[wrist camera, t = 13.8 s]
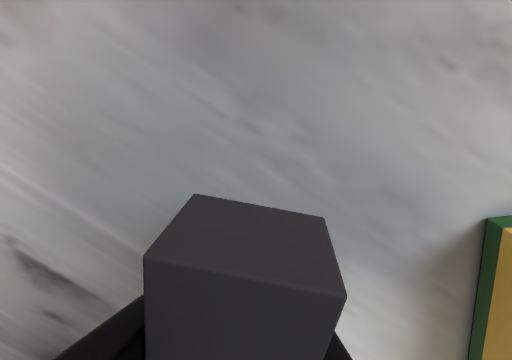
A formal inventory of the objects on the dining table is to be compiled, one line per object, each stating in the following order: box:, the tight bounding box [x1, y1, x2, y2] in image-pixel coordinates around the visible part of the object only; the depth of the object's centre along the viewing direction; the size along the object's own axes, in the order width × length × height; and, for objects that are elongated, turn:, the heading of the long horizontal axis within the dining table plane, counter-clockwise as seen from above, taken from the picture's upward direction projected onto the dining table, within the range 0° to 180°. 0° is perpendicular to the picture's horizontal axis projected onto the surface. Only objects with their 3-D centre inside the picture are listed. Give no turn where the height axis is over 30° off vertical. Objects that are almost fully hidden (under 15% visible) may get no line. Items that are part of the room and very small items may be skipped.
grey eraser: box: [143, 194, 347, 360], centre depth 7 cm, size 6×4×3 cm
